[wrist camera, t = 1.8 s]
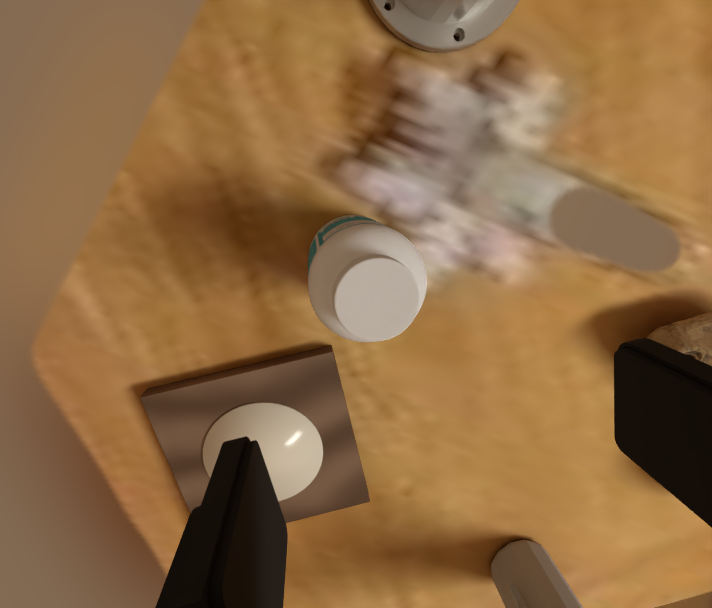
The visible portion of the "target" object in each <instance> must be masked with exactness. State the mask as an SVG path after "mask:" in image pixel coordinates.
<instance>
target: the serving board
mask: <svg viewBox="0 0 712 608" xmlns="http://www.w3.org/2000/svg"><path fill="white" fill-rule="evenodd" d="M140 399H141V401H142V404H143V406H144V408H145V411H146V413H147V415H148V417H149V420H150V422H151V424H152V427H153V429H154V431H155V433H156V436H157V438H158V440H159V442H160V445H161V447H162V449H163V452H164V454H165V456H166V458H167V461H168V463H169V465H170V468H171V470H172V472H173V474H174V477H175V479H176V481H177V484H178V486H179V488H180V490H181V493H182V495H183V497H184V500H185V502H186V504H187V506H188V509H189V511H190V513H191V512H192V510H193V509H194V508H196V507H198V506H201V503H202V501H203V498H204V495H205V492H206V489H207V486H208V483H209V480H210V478H211V475H212V472H213V469H214V466H215V463H216V460H217V458H218V455H219V452H220V449H221V446H222V444H223V442H225V441H229V440H233V439H237V438H241V437H245V436H247V437H248V438H249V439H250V441H254V440H256V441H257V442H258V444H259V446H260V449H261V452H262V455H263V458H264V461H265V464H266V467H267V470H268V473H269V476H270V478H271V481H272V484H273V487H274V490H275V493H276V496H277V499H278V502H279V505H280V508H281V511H282V514H283V517H284V520H285V523H288V522H292V521H296V520H300V519H304V518H308V517H312V516H315V515H319V514H323V513H327V512H331V511H335V510H339V509H343V508H347V507H351V506H355V505H358V504H362V503H366V502H370V500H369V494H368V489H367V485H366V481H365V477H364V473H363V469H362V465H361V461H360V457H359V453H358V449H357V445H356V441H355V437H354V433H353V429H352V425H351V421H350V417H349V413H348V409H347V405H346V401H345V397H344V393H343V389H342V385H341V381H340V377H339V373H338V369H337V365H336V361H335V357H334V353H333V349H332V345H331V346H327V347H323V348H318V349H314V350H310V351H306V352H302V353H297V354H293V355H289V356H285V357H280V358H276V359H272V360H268V361H264V362H259V363H255V364H251V365H247V366H243V367H238V368H234V369H230V370H226V371H221V372H217V373H213V374H209V375H205V376H200V377H196V378H192V379H188V380H184V381H179V382H175V383H171V384H167V385H163V386H158V387H154V388H150V389H147V390H146V391H145V392H144V393H143V395H142V396H141V397H140Z"/></svg>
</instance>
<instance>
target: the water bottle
mask: <svg viewBox="0 0 712 608" xmlns="http://www.w3.org/2000/svg"><path fill="white" fill-rule="evenodd" d="M491 573H492V579H493V581H494V583H495V585H496V588H497V590H498V592H499V594H500V596H501V598H502V601H503V603H504V605H505V607H506V608H583V607H582V605H581V603H580V602H579V600H578V599H577V597H576V596H575V594H574V593H573V591H572V589H571V588H570V586H569V585H568V583H567V582H566V580H565V579H564V577H563V575H562V574H561V572H560V571H559V569H558V568H557V566H556V565H555V563H554V562H553V560H552V558H551V557H550V555H549V554H548V552H547V551H546V550H545V549H544V548H543V547H542V546H541V545H540V544H539V543H536V542H533V541H528V540H519V541H515V542H510V543H509V544H507V545H506V546H505V547H503V548H502V549H501V550H499V551H498V552H497V554H496V556H495V558H494V559H493V561H492V564H491Z"/></svg>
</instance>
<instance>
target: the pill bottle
mask: <svg viewBox="0 0 712 608" xmlns="http://www.w3.org/2000/svg"><path fill="white" fill-rule="evenodd" d="M426 288H427V276H426V269H425V266H424V263H423V260H422V258H421V256H420V254H419V252H418V250H417V249H416V248H415V246H414V245H413V244H412V243H411V242H410V241H409V240H408V239H407V238H406V237H405V236H403V235H402V234H400V233H399V232H397V231H395V230H393V229H391V228H389V227H387V226H385V225H383V224H381V223H379V222H376V221H374V220H372V219H370V218H367V217H364V216H359V215H347V216H341V217H338V218H336V219H333V220H331V221H330V222H328V223H327V224H325V225H324V226H323V227H322V228H321V229H320V230H319V231H318V233H317V234H316V235H315V237H314V239H313V241H312V243H311V246H310V249H309V255H308V291H309V297H310V301H311V304H312V307H313V309H314V311H315V313H316V315H317V316H318V318H319V319H320V320H321V322H322V323H323V324H324V325H325V326H326V327H327V328H328V329H330V330H331V331H332V332H334V333H335V334H337V335H339V336H341V337H343V338H346V339H349V340H353V341H358V342H375V341H383V340H387V339H390V338H393V337H395V336H397V335H399V334H400V333H402V332H403V331H404V330H405V329H406V328H407V327H408V326H409V325H410V324H411V323H412V321H413V320H414V318H415V317H416V315H417V314H418V312H419V310H420V308H421V306H422V304H423V301H424V298H425V294H426Z"/></svg>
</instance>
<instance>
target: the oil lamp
mask: <svg viewBox="0 0 712 608" xmlns="http://www.w3.org/2000/svg"><path fill="white" fill-rule="evenodd" d="M646 338H649V339H652V340H654V341H656V342H658V343H661V344H663V345H665V346H667V347H670V348H672V349H674V350H677V351H679V352H681V353H683V354H686V355H688V356H690V357H692V358H695V359H697V360H699V361H701V362H704V363H706V364H708V365H711V366H712V312H709V313H705V314H701V315H698V316H695V317H692V318H688V319H686V320H681V321H677V322H674V323H671V324H669V325H665V326H662V327H660V328H657V329H656V330H654V331H653V332H652V333H651V334H650V335H649V336H648V337H646Z"/></svg>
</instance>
